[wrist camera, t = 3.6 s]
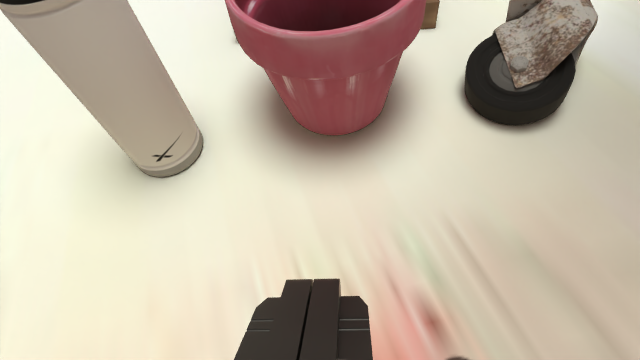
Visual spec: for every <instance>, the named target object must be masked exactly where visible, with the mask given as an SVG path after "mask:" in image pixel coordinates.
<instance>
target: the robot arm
mask: <svg viewBox="0 0 640 360" xmlns="http://www.w3.org/2000/svg"><path fill="white" fill-rule="evenodd" d="M234 360H373V357H372V346H371V336H370V325H369V315H368V306H367V305H366V304H365V302H364V301H363V300H362V299H361V298H360V297H359V296H341V289H340V279H314V282H313V280H312V279H299V280H286V283H285V286H284V289H283V292H282V295H281V297H278V298H267V299H266V300H264V301H263V302H262V303H261V304H260V305H259V306H257V307H256V309H255V311H254V314H253V316H252V318H251V322H250V323H249V325H248V328H247V332H246V333H245V335H244V337H243V340H242V342H241V344H240V347H239V349H238V351H237V354H236V356H235V358H234Z"/></svg>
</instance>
